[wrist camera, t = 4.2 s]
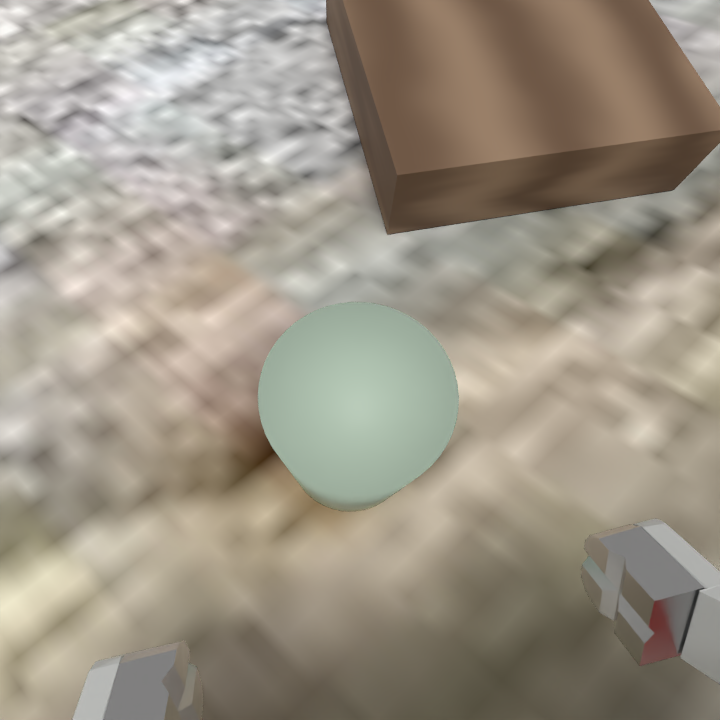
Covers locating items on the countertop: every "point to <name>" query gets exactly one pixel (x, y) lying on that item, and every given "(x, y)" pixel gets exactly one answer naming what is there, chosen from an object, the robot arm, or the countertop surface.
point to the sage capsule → (357, 402)
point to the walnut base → (517, 104)
